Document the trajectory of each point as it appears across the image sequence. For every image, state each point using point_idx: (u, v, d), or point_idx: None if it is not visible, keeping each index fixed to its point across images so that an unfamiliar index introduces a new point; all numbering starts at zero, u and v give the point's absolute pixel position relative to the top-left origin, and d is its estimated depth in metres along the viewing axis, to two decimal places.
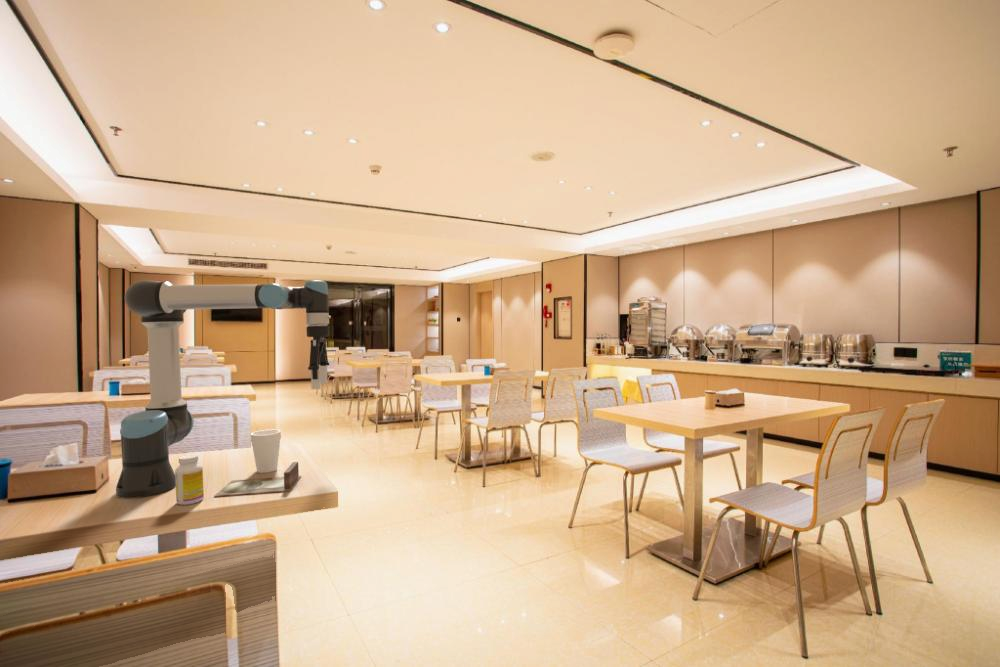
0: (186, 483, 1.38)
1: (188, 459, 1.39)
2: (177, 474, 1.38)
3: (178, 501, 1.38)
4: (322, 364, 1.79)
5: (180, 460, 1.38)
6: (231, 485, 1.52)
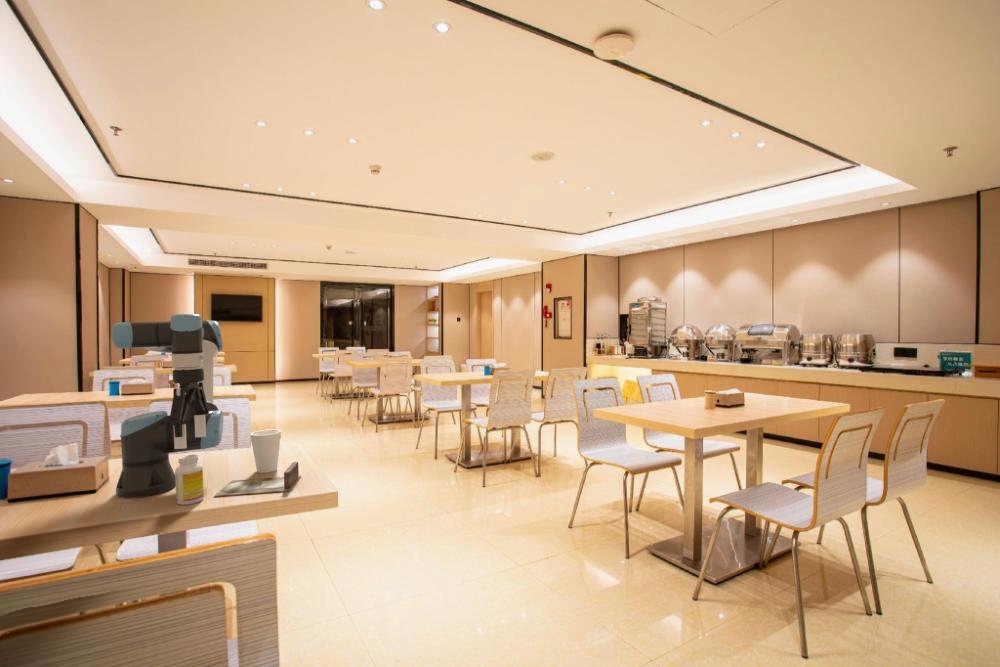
0: (186, 483, 1.38)
1: (188, 459, 1.39)
2: (177, 474, 1.38)
3: (178, 501, 1.38)
4: (199, 413, 1.48)
5: (180, 460, 1.38)
6: (231, 485, 1.52)
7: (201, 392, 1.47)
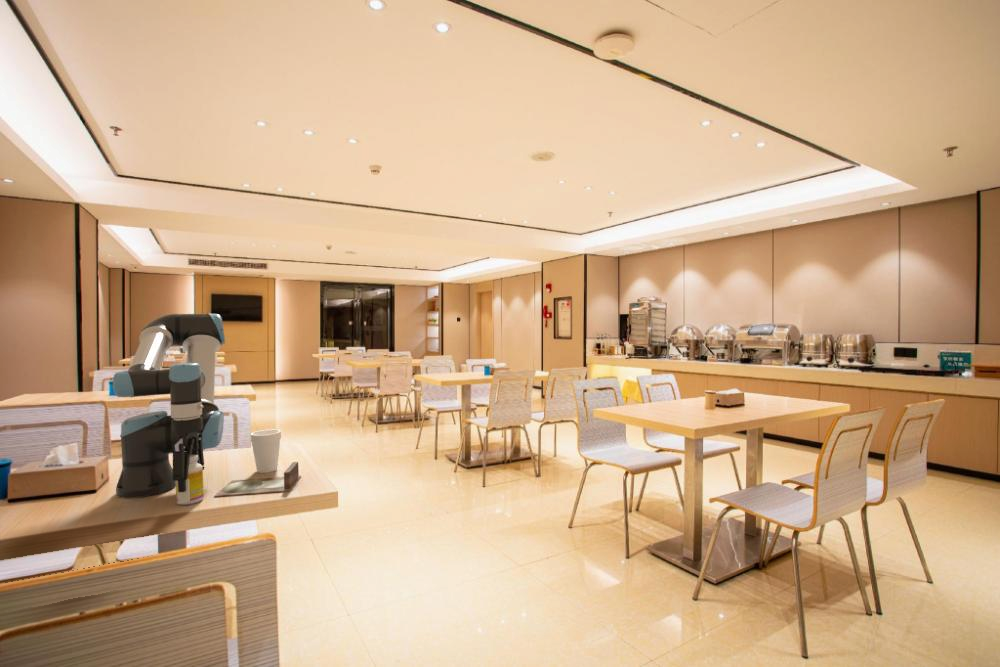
0: None
1: None
2: None
3: None
4: None
5: None
6: (231, 485, 1.52)
7: (199, 443, 1.46)
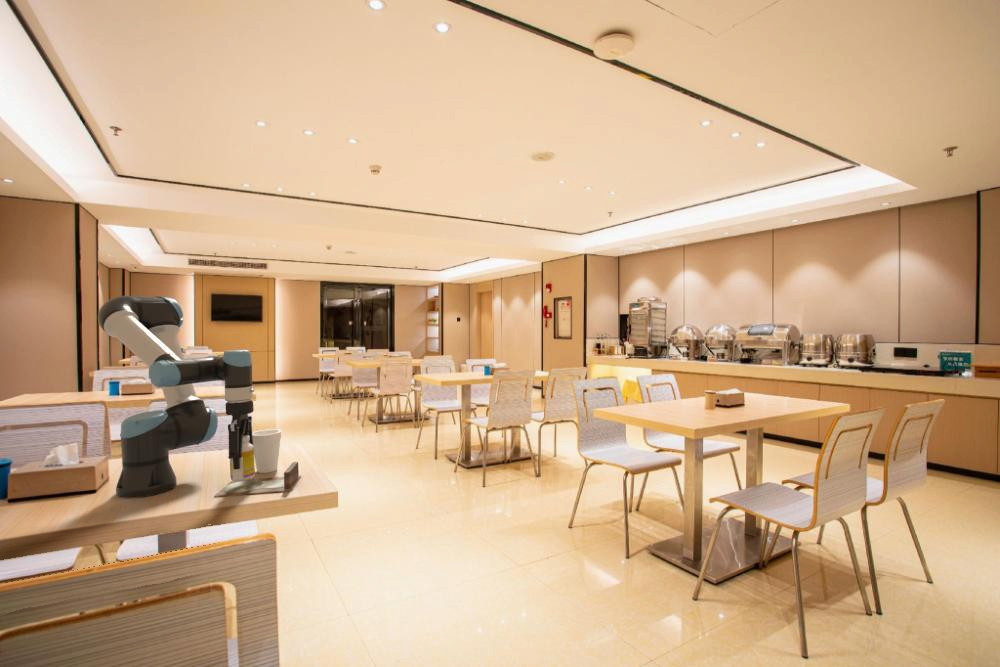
0: None
1: None
2: None
3: (232, 478, 1.48)
4: None
5: None
6: (231, 485, 1.52)
7: (249, 425, 1.56)
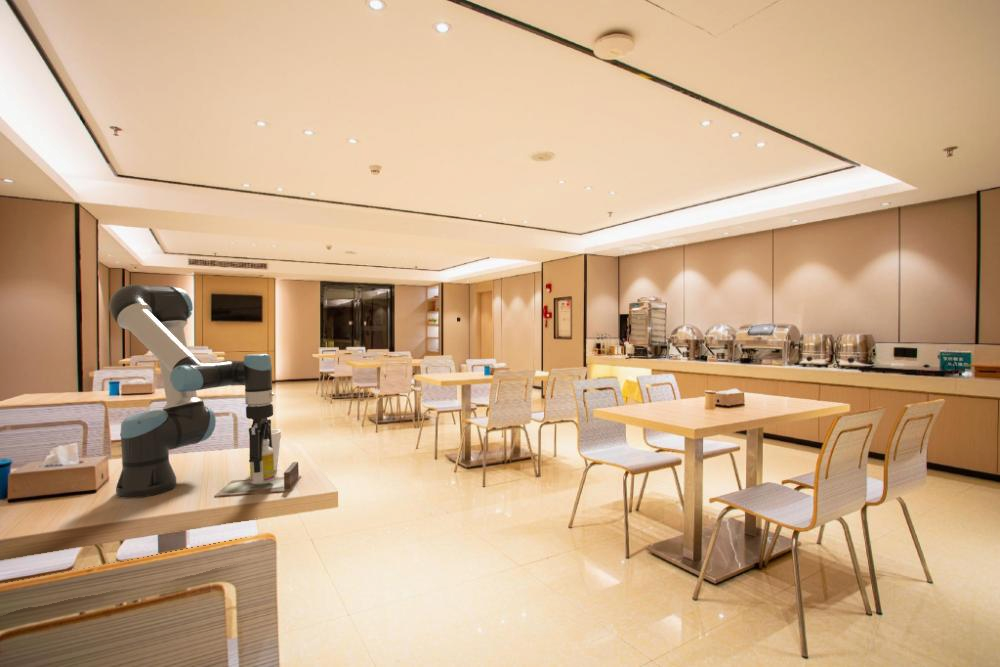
0: None
1: None
2: None
3: None
4: None
5: None
6: (231, 485, 1.52)
7: (269, 429, 1.57)
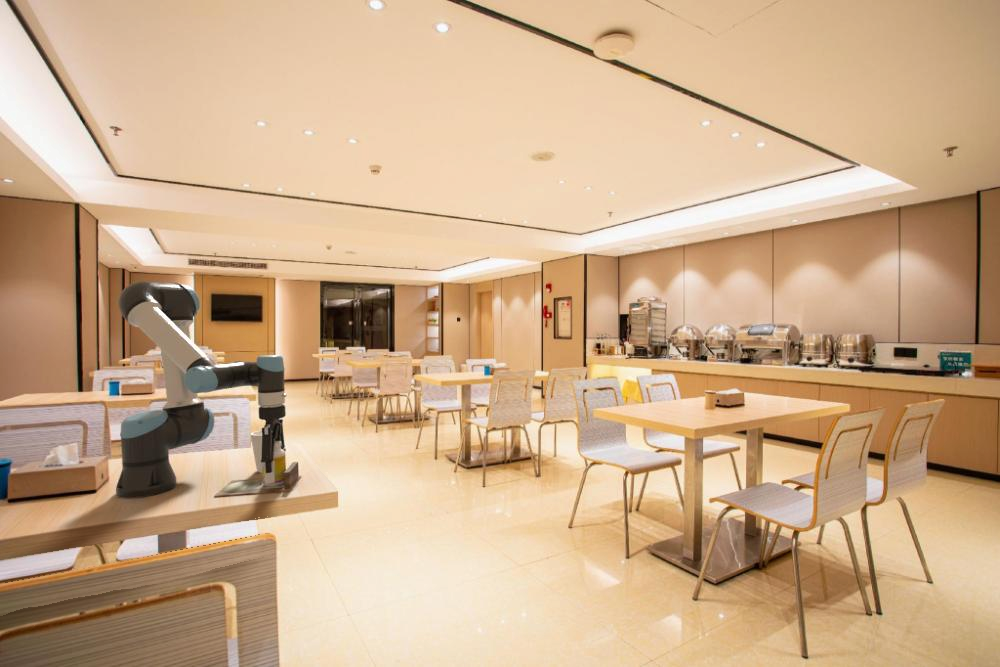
0: None
1: None
2: None
3: (265, 483, 1.50)
4: None
5: None
6: (231, 485, 1.52)
7: (281, 428, 1.58)
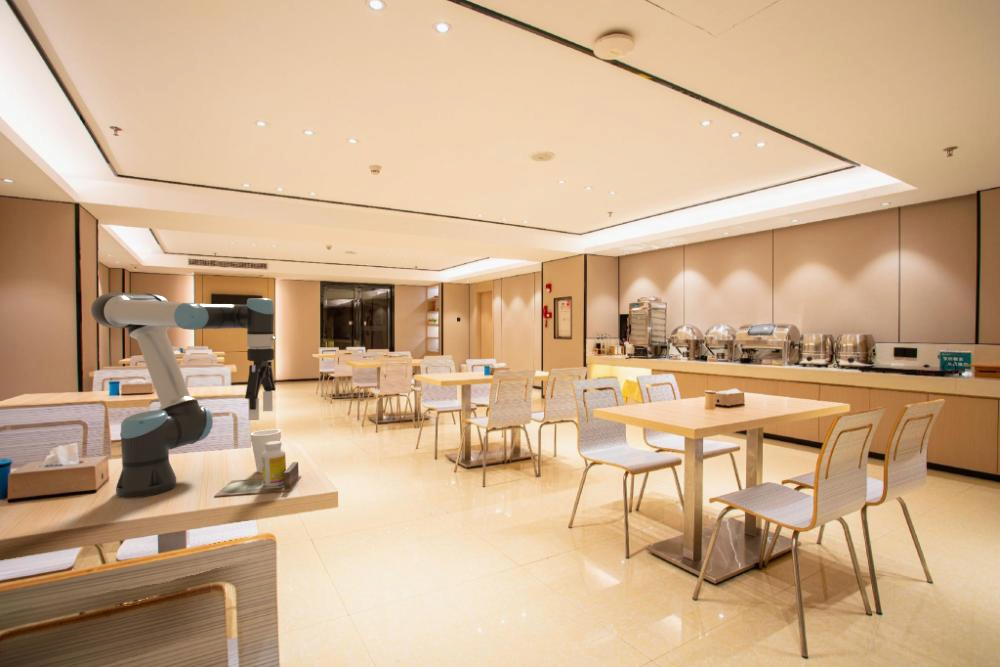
0: (273, 467, 1.50)
1: (274, 445, 1.51)
2: (264, 458, 1.50)
3: (265, 483, 1.50)
4: (267, 389, 1.62)
5: (267, 445, 1.51)
6: (231, 485, 1.52)
7: (270, 370, 1.61)
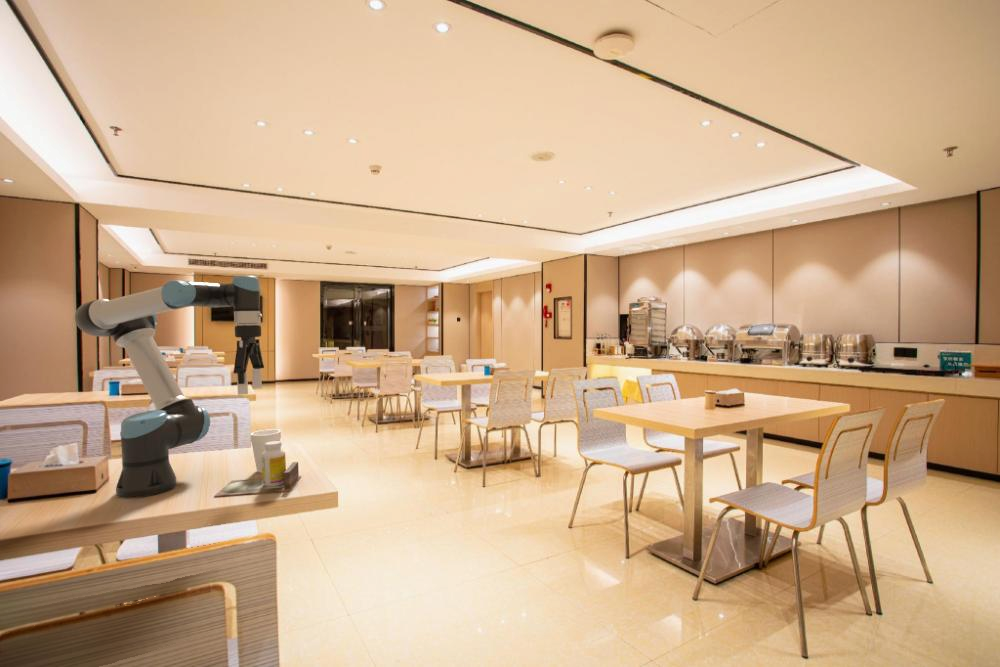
0: (273, 467, 1.50)
1: (274, 445, 1.51)
2: (264, 458, 1.50)
3: (265, 483, 1.50)
4: (256, 367, 1.65)
5: (267, 445, 1.51)
6: (231, 485, 1.52)
7: (258, 348, 1.64)
